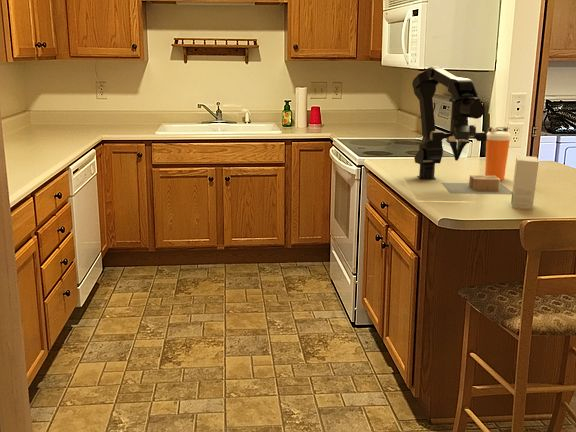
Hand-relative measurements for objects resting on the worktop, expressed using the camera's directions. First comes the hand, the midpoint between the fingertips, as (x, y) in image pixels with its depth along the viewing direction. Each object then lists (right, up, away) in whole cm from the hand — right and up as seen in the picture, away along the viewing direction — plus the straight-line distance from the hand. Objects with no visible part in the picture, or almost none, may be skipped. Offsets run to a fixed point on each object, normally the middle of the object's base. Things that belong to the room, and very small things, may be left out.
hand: (456, 160), depth 227 cm
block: (+6, -8, +2) cm, 10 cm away
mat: (+8, -10, +2) cm, 13 cm away
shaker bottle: (+20, -6, +20) cm, 29 cm away
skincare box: (+16, -17, -21) cm, 31 cm away
